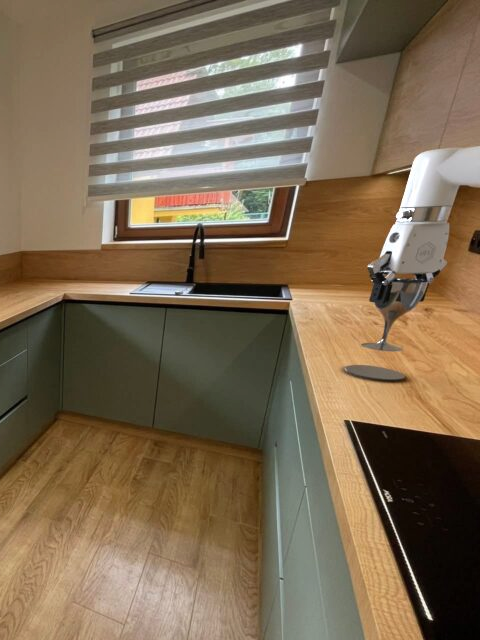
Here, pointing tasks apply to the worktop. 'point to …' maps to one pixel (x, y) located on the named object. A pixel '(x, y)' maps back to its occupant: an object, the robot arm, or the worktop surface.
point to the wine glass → (397, 307)
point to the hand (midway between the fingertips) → (395, 301)
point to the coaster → (374, 373)
